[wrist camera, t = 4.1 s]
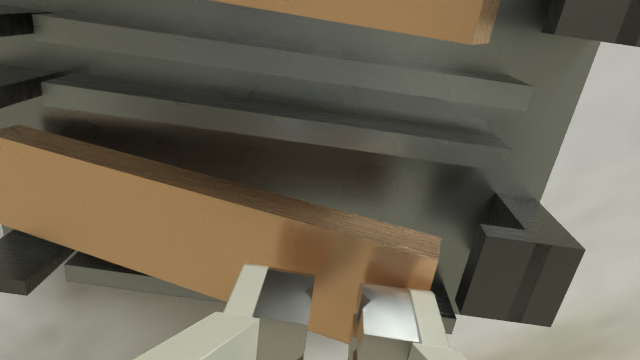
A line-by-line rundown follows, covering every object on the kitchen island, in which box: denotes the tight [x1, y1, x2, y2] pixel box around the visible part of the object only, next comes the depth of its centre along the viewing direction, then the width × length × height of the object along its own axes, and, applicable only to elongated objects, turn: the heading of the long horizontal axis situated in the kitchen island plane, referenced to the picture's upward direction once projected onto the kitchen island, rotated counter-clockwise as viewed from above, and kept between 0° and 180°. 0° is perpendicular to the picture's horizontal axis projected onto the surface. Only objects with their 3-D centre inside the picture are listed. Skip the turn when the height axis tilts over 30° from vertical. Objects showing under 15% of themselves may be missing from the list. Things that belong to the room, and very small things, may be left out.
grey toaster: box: [0, 0, 640, 334], centre depth 13 cm, size 17×14×8 cm
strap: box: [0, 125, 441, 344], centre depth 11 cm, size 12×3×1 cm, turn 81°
